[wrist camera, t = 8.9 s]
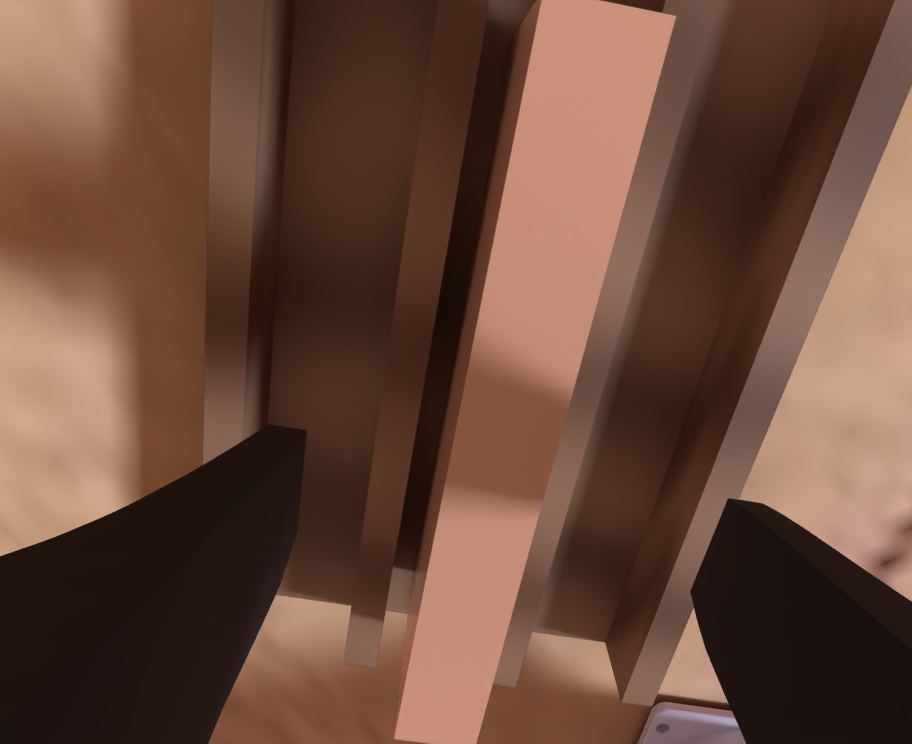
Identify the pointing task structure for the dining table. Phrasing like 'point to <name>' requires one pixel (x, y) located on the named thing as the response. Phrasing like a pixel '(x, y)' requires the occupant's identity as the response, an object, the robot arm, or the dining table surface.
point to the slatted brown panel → (447, 269)
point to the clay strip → (522, 339)
